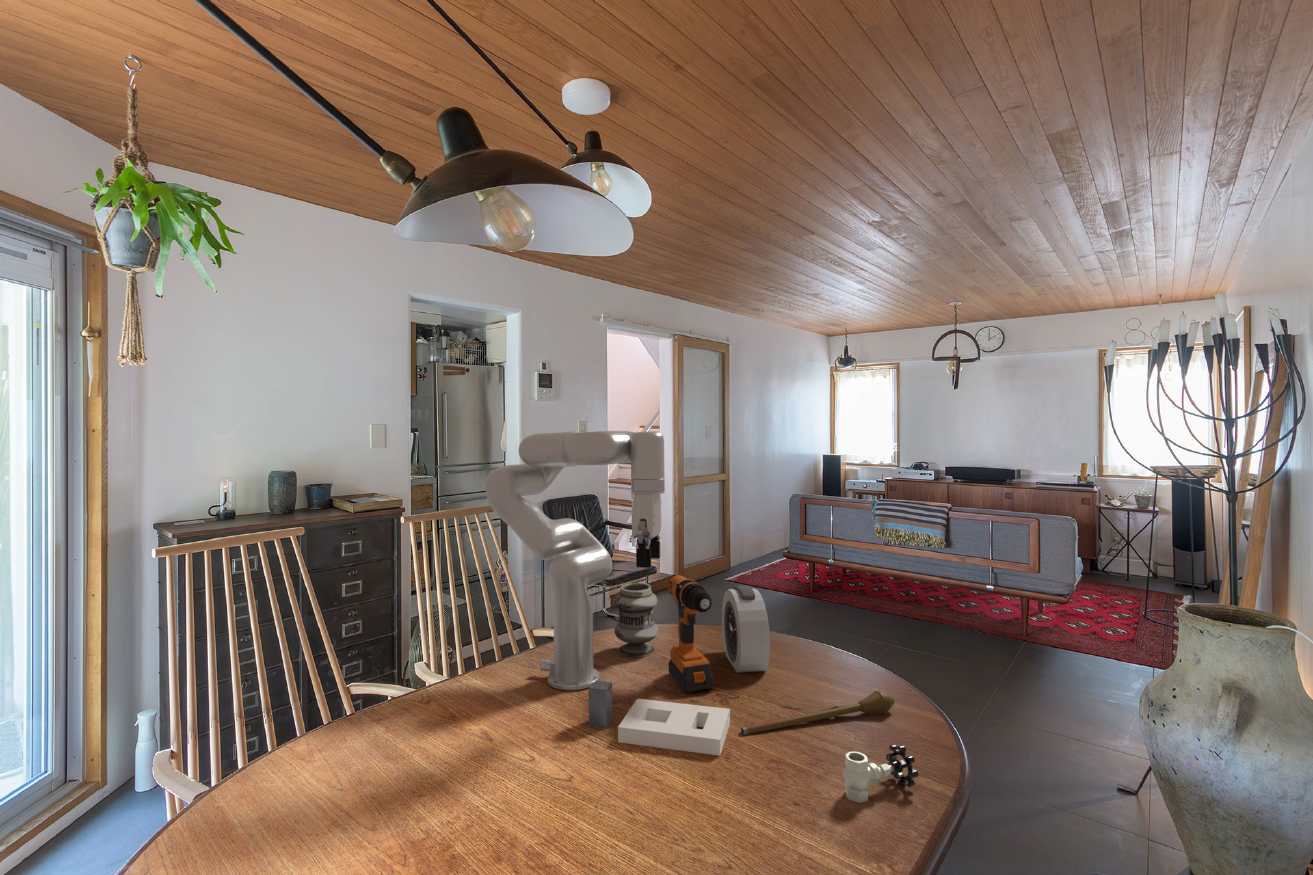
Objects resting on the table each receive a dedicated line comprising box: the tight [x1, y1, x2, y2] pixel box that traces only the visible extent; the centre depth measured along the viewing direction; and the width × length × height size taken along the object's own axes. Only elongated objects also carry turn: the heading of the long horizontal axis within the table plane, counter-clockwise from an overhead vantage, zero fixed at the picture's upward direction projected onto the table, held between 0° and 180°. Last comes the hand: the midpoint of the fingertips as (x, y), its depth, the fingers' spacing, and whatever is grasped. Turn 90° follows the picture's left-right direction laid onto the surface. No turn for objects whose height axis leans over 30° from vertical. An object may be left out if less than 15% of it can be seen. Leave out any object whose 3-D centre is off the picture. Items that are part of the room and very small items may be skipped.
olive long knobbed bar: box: [740, 690, 895, 736], centre depth 125 cm, size 5×35×5 cm
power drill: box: [667, 574, 714, 693], centre depth 143 cm, size 22×7×25 cm, turn 16°
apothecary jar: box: [614, 582, 659, 658], centre depth 167 cm, size 12×12×18 cm
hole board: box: [617, 698, 731, 757], centre depth 121 cm, size 20×13×3 cm, turn 75°
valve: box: [842, 744, 920, 804], centre depth 101 cm, size 7×7×12 cm
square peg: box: [588, 680, 613, 730], centre depth 125 cm, size 4×4×8 cm
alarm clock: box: [721, 584, 771, 674], centre depth 158 cm, size 21×8×20 cm, turn 6°
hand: (648, 562), depth 135 cm, fingers open, 9 cm apart
